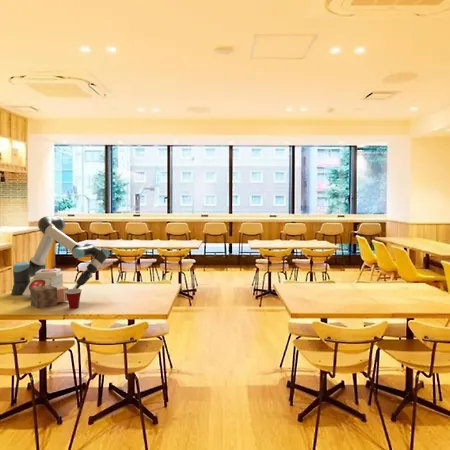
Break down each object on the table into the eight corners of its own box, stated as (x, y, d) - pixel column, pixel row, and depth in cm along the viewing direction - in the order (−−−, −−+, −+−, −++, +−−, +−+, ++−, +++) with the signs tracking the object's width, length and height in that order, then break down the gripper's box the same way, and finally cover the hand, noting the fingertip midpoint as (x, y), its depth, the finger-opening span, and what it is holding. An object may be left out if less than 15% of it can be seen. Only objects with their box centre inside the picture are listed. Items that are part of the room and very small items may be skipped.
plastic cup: (64, 310, 291) (63, 292, 290) (66, 306, 302) (66, 288, 301) (81, 309, 293) (80, 291, 292) (83, 305, 304) (82, 288, 303)
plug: (63, 298, 318) (63, 285, 317) (68, 300, 311) (68, 287, 311) (46, 301, 310) (46, 288, 309) (51, 303, 303) (51, 290, 302)
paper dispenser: (20, 299, 321) (19, 275, 319) (45, 290, 350) (44, 268, 348) (43, 301, 316) (42, 276, 315) (67, 291, 346) (66, 268, 344)
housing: (49, 301, 314) (49, 284, 313) (57, 305, 304) (56, 287, 303) (31, 305, 305) (30, 287, 304) (38, 308, 295) (37, 290, 294)
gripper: (101, 270, 325) (80, 296, 315) (93, 268, 334) (72, 293, 324) (94, 264, 321) (72, 290, 311) (86, 262, 330) (65, 287, 320)
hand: (72, 291), depth 318 cm, fingers closed
